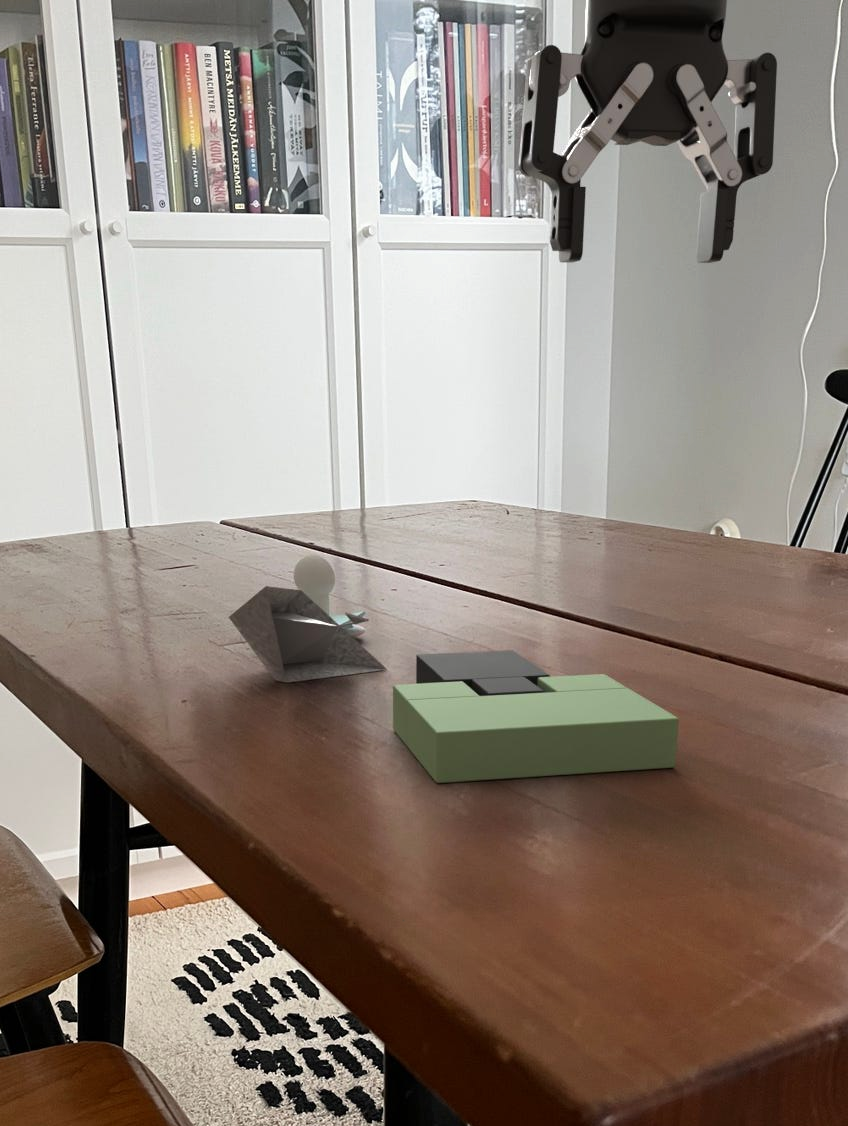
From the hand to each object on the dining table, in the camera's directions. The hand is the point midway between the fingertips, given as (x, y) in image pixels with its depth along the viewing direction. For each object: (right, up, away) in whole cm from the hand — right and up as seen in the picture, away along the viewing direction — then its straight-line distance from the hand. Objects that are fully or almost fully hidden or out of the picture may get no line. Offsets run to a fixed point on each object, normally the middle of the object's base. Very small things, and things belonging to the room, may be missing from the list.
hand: (639, 261), depth 73 cm
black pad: (-9, -26, -2) cm, 28 cm away
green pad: (-8, -29, -8) cm, 31 cm away
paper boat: (-20, -24, +7) cm, 32 cm away
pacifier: (-19, -19, +19) cm, 33 cm away
